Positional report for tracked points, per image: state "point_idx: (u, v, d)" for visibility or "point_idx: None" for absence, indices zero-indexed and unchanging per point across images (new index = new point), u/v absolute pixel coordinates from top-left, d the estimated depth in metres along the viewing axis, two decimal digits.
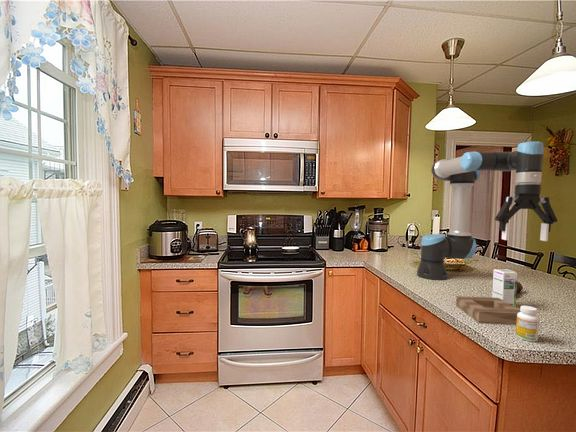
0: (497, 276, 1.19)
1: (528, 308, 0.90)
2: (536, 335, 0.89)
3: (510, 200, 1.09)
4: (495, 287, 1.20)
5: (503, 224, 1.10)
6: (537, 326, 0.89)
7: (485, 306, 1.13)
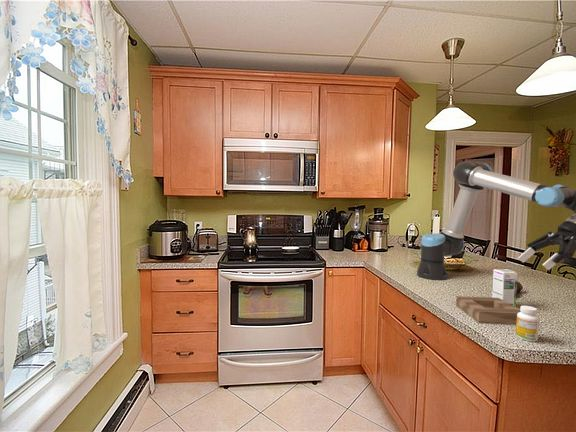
0: (497, 276, 1.19)
1: (528, 308, 0.90)
2: (536, 335, 0.89)
3: (547, 233, 1.22)
4: (495, 287, 1.20)
5: (528, 249, 1.24)
6: (537, 326, 0.89)
7: (485, 306, 1.13)
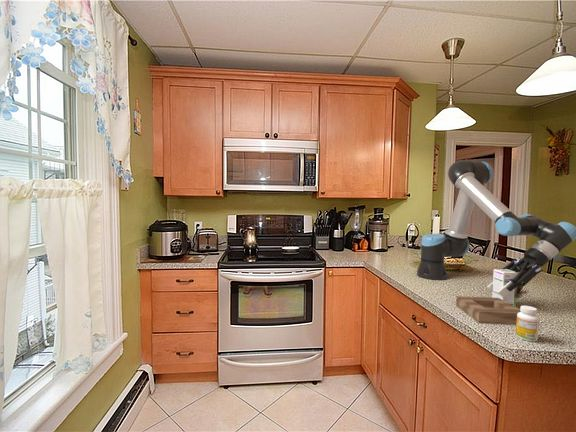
0: (497, 276, 1.19)
1: (528, 308, 0.90)
2: (536, 335, 0.89)
3: (513, 260, 1.23)
4: (495, 287, 1.20)
5: None
6: (537, 326, 0.89)
7: (485, 306, 1.13)
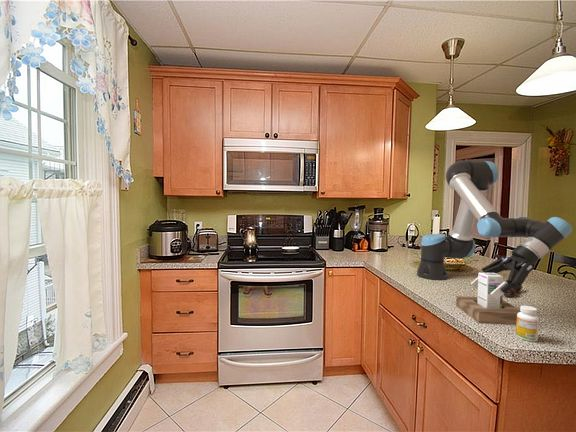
0: (482, 280, 1.09)
1: (528, 308, 0.90)
2: (536, 335, 0.89)
3: (501, 257, 1.14)
4: (480, 292, 1.10)
5: None
6: (537, 326, 0.89)
7: None
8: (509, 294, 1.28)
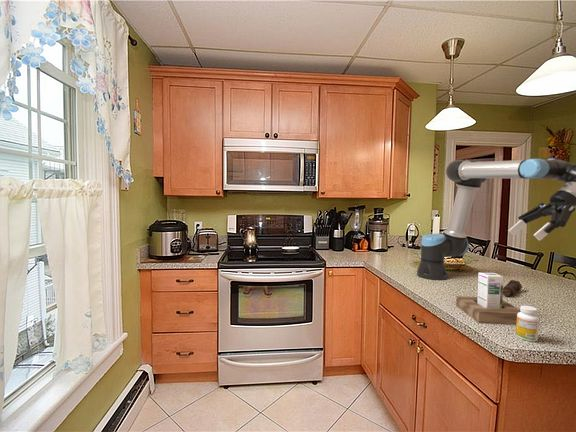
0: (482, 280, 1.09)
1: (528, 308, 0.90)
2: (536, 335, 0.89)
3: (539, 205, 1.16)
4: (480, 292, 1.10)
5: (519, 221, 1.18)
6: (537, 326, 0.89)
7: None
8: (508, 293, 1.28)
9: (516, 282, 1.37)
